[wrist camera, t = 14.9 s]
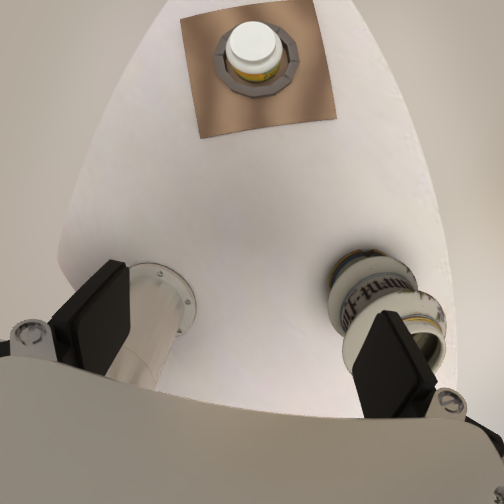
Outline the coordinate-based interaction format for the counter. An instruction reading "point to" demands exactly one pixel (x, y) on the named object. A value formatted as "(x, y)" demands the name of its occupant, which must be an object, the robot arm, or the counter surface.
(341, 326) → the apothecary jar
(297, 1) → the stand board
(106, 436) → the robot arm
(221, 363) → the counter surface
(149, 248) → the counter surface
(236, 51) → the supplement bottle
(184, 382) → the counter surface
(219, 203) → the counter surface
